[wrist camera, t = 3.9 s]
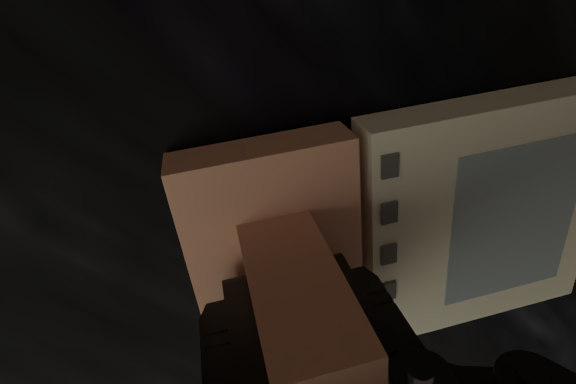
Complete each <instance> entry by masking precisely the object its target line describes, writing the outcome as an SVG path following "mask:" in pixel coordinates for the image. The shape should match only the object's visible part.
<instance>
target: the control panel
mask: <svg viewBox="0 0 576 384" xmlns="http://www.w3.org/2000/svg"><path fill="white" fill-rule="evenodd" d="M351 132H353V133H354V134H355V135H356V136H357V137H358V138H359V156H360V192H361V228H362V265H363V266H364V267H365V268H367V269H368V270H370V271H371V272H373V273H374V274H376V275H377V276H378V277H379V279H380V280H381V282H382V283H383V285H384V286H385V288H386V290H387V292H389V294H390V295H391V297H392V299H393V300H394V303H396V305H397V306H398V308H399V309H400V311H401V312H402V314H403V315H404V317H405V318H406V320H407V321H408V323H409V324H410V326H411V327H412V329H413V331H414V332H415V334H416V335H420V334H423V333H427V332H431V331H434V330H438V329H442V328H445V327H449V326H453V325H456V324H460V323H464V322H467V321H471V320H475V319H478V318H482V317H486V316H489V315H493V314H497V313H500V312H504V311H508V310H512V309H515V308H519V307H523V306H526V305H530V304H534V303H537V302H541V301H545V300H548V299H552V298H556V297H559V296H563V295H567V294H570V293H571V292H572V288H573V285H574V282H575V278H576V76H573V77H568V78H562V79H557V80H551V81H546V82H541V83H535V84H530V85H524V86H519V87H513V88H508V89H503V90H497V91H492V92H486V93H481V94H476V95H470V96H465V97H459V98H454V99H448V100H443V101H438V102H432V103H427V104H421V105H416V106H410V107H405V108H400V109H394V110H389V111H383V112H378V113H372V114H367V115H362V116H356V117H351Z"/></svg>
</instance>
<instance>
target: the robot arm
mask: <svg viewBox="0 0 576 384" xmlns="http://www.w3.org/2000/svg"><path fill="white" fill-rule="evenodd" d="M333 256H334V258H335V260H336V261H337V263H338V265H339V267H340V269H341V271H342V273H343V274H344V276H345V278H346V280H347V282H348V284H349V285H350V287H351V289H352V291H353V293H354V295H355V296H356V298H357V300H358V302H359V304H360V306H361V307H362V309H363V311H364V313H365V315H366V317H367V318H368V320H369V322H370V324H371V326H372V328H373V330H374V331H375V333H376V335H377V337H378V339H379V341H380V342H381V344H382V346H383V348H384V350H385V352H386V353H387V355H388V384H576V373H574V372H572V371H570V370H568V369H566V368H564V367H563V366H561V365H559V364H557V363H555V362H553V361H551V360H549V359H547V358H545V357H543V356H541V355H539V354H536V353H533V352H529V351H523V350H514V351H508V352H506V353H504V354H502V355H500V356H499V357H498V358H497V360H496V362H495V365H494V367H478V366H459V365H454V364H451V363H448V362H447V361H446V360H445V359H443V358H442V357H441V356H440V355H438V354H436V353H435V352H432V351H430V350H427V349H426V348H425V347H424V345H423V344H422V343H421V341H420V340H419V338H418V337H417V335H416V334H415V332H414V331H413V329H412V327H411V326H410V324H409V323H408V321H407V320H406V318H405V317H404V315H403V314H402V312H401V311H400V309H399V308H398V306H397V305H396V303H394V300H393V299H392V297H391V295H390V294H389V292H387V290H386V288H385V286H384V285H383V283H382V282H381V280H380V279H379V277H378V276H377V275H376V274H374V273H373V272H371V271H370V270H368V269H367V268H365V267H364V266H361V267H357V268H353V269H351V268H350V266H349V264H348V263H347V261H346V259H345V257H344V256H343V254H342V253H337V254H333ZM222 287H223V295H224V299H223V300H219V301H215V302H211V303H207V304H206V305H205V307H204V310H203V312H202V314H201V316H200V319H199V329H200V349H201V370H202V384H269V380H268V375H267V370H266V366H265V361H264V356H263V352H262V347H261V342H260V338H259V333H258V328H257V324H256V319H255V314H254V309H253V305H252V300H251V295H250V291H249V286H248V281H247V277H246V275H243V276H238V277H234V278H230V279H226V280H222Z"/></svg>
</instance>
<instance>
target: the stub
mask: <svg viewBox="0 0 576 384" xmlns="http://www.w3.org/2000/svg"><path fill="white" fill-rule="evenodd" d="M161 178H162V182H163V185H164V189H165V192H166V196H167V199H168V203H169V206H170V209H171V213H172V216H173V220H174V223H175V227H176V230H177V234H178V237H179V240H180V244H181V247H182V251H183V254H184V258H185V261H186V265H187V268H188V272H189V275H190V278H191V282H192V285H193V289H194V292H195V296H196V299H197V303H198V306H199V309H200V313H201V314H202V312H203V310H204V307H205V305H206V304H207V303H211V302H215V301H219V300H223V299H224V295H223V287H222V280H226V279H230V278H234V277H238V276H243V275H246V277H247V281H248V286H249V291H250V295H251V300H252V305H253V309H254V314H255V319H256V324H257V328H258V333H259V338H260V342H261V347H262V352H263V356H264V361H265V366H266V370H267V375H268V380H269V384H388V355H387V353H386V352H385V350H384V348H383V346H382V344H381V342H380V341H379V339H378V337H377V335H376V333H375V331H374V330H373V328H372V326H371V324H370V322H369V320H368V318H367V317H366V315H365V313H364V311H363V309H362V307H361V306H360V304H359V302H358V300H357V298H356V296H355V295H354V293H353V291H352V289H351V287H350V285H349V284H348V282H347V280H346V278H345V276H344V274H343V273H342V271H341V269H340V267H339V265H338V263H337V261H336V260H335V258H334V256H333V254H337V253H342V254H343V256H344V257H345V259H346V261H347V263H348V264H349V266H350V268H351V269H353V268H357V267H361V266H363V265H362V228H361V192H360V156H359V138H358V137H357V136H356V135H355V134H354V133H353V132H351V131H350V130H349V129H348V128H347V127H346V126H345V125H344V124H343V123H342V122H340V121H336V122H330V123H325V124H320V125H314V126H309V127H303V128H298V129H293V130H287V131H282V132H276V133H271V134H265V135H260V136H255V137H249V138H244V139H238V140H233V141H228V142H222V143H217V144H211V145H206V146H201V147H195V148H190V149H184V150H179V151H173V152H168V153H163V163H162V172H161Z"/></svg>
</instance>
